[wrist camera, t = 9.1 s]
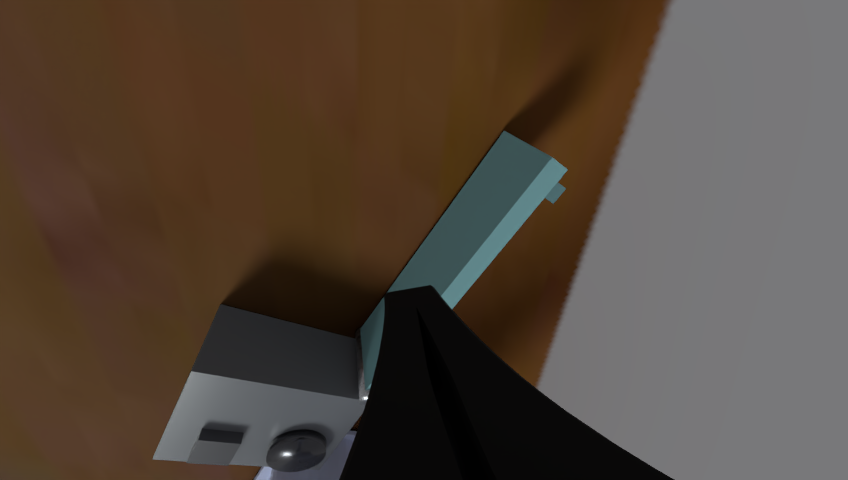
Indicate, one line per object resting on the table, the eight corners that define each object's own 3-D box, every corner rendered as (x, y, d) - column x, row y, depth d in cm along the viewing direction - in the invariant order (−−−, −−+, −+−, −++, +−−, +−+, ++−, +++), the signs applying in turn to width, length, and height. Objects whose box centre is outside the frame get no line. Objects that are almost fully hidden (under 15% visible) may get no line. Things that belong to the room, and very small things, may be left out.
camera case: (321, 404, 25) (318, 480, 21) (185, 383, 21) (146, 471, 17) (365, 341, 23) (372, 411, 18) (220, 304, 19) (186, 383, 14)
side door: (376, 344, 23) (385, 409, 19) (351, 336, 22) (355, 403, 18) (526, 148, 18) (582, 180, 14) (501, 128, 17) (552, 157, 13)
